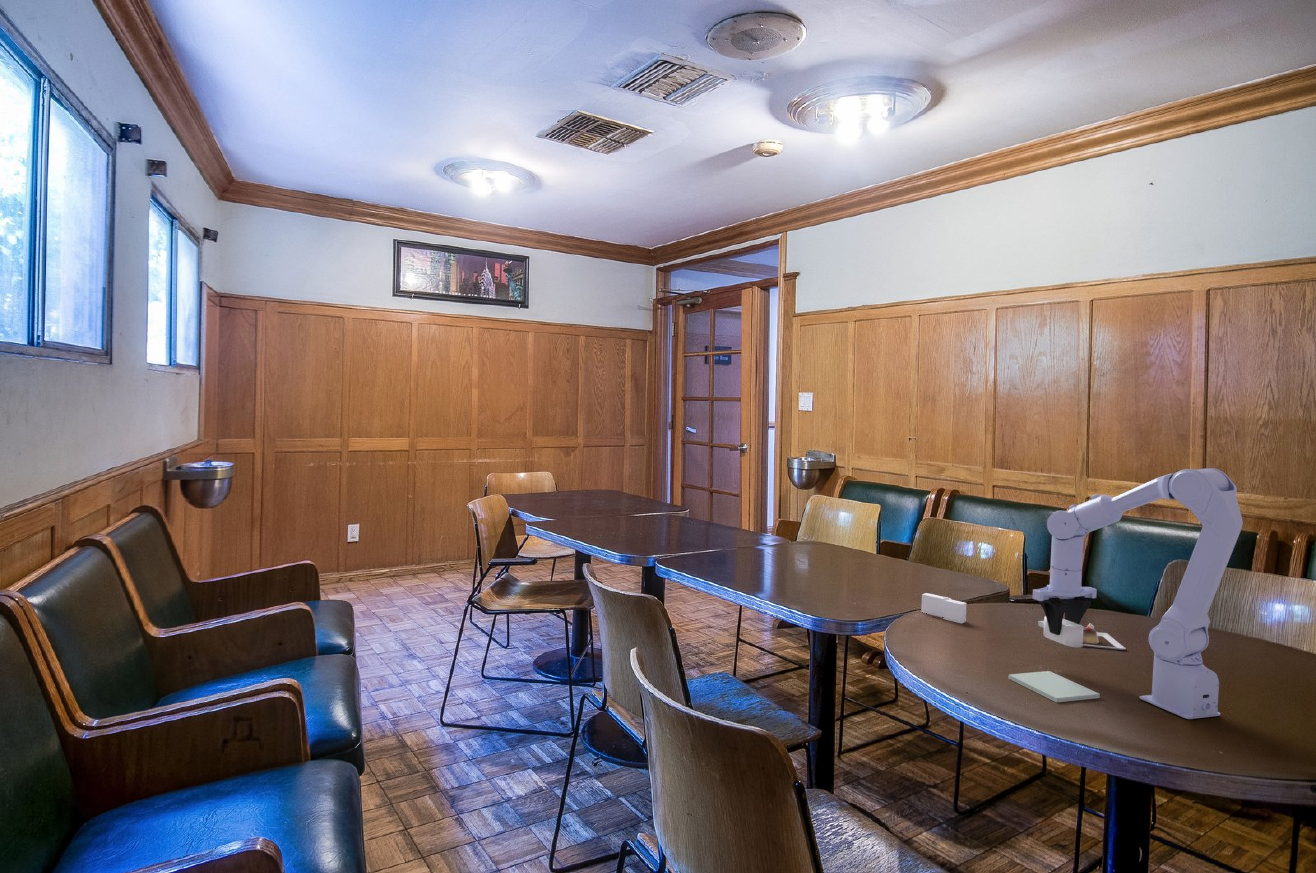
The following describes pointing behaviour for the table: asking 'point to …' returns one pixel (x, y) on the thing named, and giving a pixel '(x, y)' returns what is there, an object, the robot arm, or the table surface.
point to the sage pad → (1053, 686)
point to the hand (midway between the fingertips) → (1062, 632)
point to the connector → (1065, 633)
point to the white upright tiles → (944, 607)
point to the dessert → (1092, 637)
